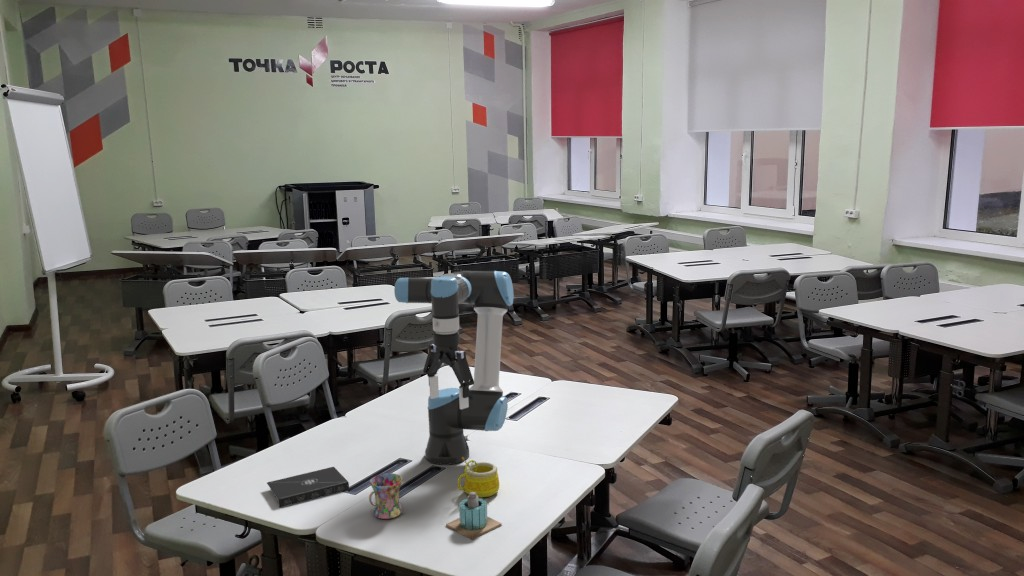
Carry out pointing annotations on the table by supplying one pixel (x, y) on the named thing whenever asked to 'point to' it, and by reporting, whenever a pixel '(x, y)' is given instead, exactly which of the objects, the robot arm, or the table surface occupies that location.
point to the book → (308, 486)
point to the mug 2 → (480, 479)
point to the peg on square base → (473, 533)
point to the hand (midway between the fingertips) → (449, 402)
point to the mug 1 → (386, 495)
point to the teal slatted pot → (473, 515)
